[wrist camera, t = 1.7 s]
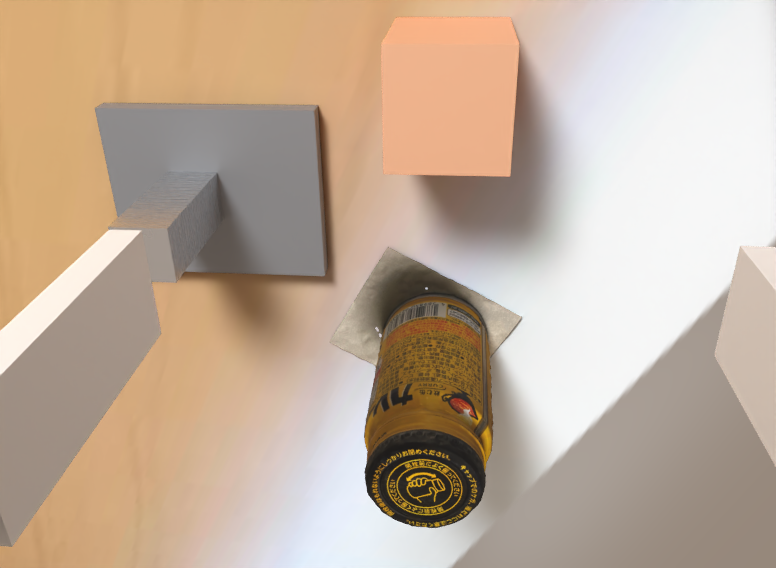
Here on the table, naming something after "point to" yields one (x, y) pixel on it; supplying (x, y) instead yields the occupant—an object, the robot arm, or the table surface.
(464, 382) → the condiment
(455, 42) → the peach foam cube
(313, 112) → the plinth
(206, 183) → the post
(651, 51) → the table surface
